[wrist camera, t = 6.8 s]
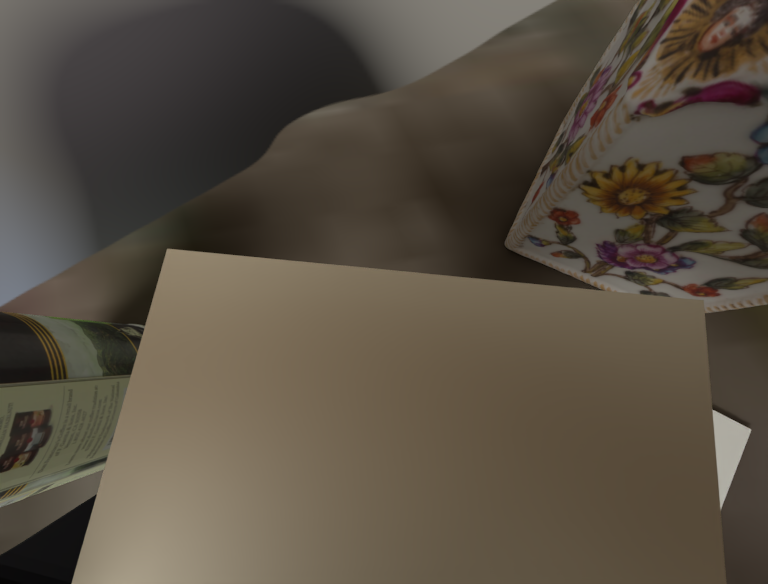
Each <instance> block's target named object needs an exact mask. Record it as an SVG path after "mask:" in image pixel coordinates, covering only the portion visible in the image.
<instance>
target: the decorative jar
mask: <svg viewBox="0 0 768 584" xmlns="http://www.w3.org/2000/svg"><path fill="white" fill-rule="evenodd" d="M505 246H506V248H508V249H509V250H512V251H514V252H516V253H518V254H520V255H522V256H524V257H527V258H530V259H532V260H534V261H537V262H539V263H542V264H544V265H546V266H549V267H551V268H553V269H556V270H558V271H560V272H562V273H564V274H567V275H570V276H572V277H574V278H576V279H578V280H581V281H583V282H585V283H587V284H590V285H592V286H595V287H597V288H599V289H602V290H604V291H612V292H622V293H632V294H643V295H653V296H663V297H674V298H684V299H695V300H704V311H705V313H711V312H718V311H725V310H731V309H739V308H746V307H754V306H760V305H766V304H768V0H638V2H637V3H636V4H635V6H634V7H633V9H632V11H631V12H630V14H629V15H628V17H627V18H626V20H625V21H624V23H623V25H622V26H621V28H620V29H619V31H618V33H617V34H616V35H615V37H614V38H613V40H612V41H611V43H610V44H609V46H608V47H607V49H606V51H605V52H604V53H603V55H602V57H601V59H600V60H599V62H598V64H597V65H596V67H595V68H594V70H593V72H592V74H591V75H590V77H589V78H588V80H587V82H586V83H585V85H584V86H583V88H582V89H581V91H580V93H579V95H578V96H577V98H576V99H575V101H574V103H573V105H572V106H571V108H570V110H569V111H568V113H567V115H566V116H565V118H564V120H563V122H562V124H561V125H560V128H559V130H558V132H557V134H556V136H555V138H554V140H553V142H552V144H551V146H550V148H549V150H548V152H547V154H546V156H545V158H544V160H543V162H542V164H541V166H540V168H539V170H538V172H537V175H536V177H535V179H534V181H533V183H532V185H531V187H530V189H529V191H528V193H527V195H526V197H525V199H524V201H523V203H522V205H521V207H520V209H519V212H518V214H517V216H516V219H515V221H514V223H513V225H512V227H511V229H510V231H509V233H508V236H507V238H506V240H505Z"/></svg>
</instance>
